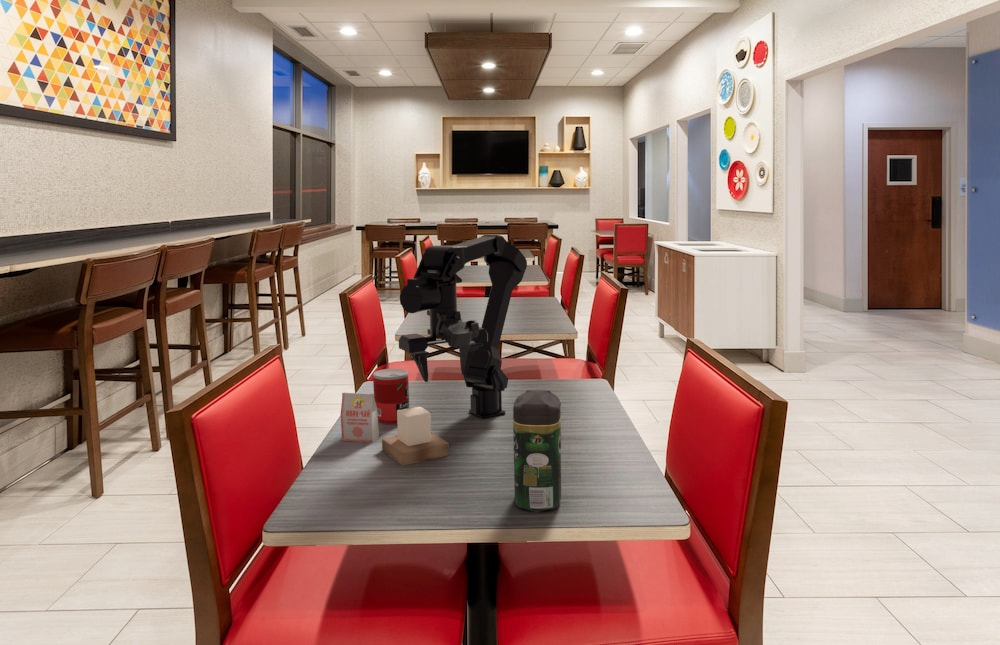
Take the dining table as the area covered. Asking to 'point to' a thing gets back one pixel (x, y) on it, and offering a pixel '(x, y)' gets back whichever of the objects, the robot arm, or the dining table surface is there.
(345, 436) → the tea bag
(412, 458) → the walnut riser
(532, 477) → the coffee jar
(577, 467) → the dining table surface
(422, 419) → the cream block
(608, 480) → the dining table surface
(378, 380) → the canned food
